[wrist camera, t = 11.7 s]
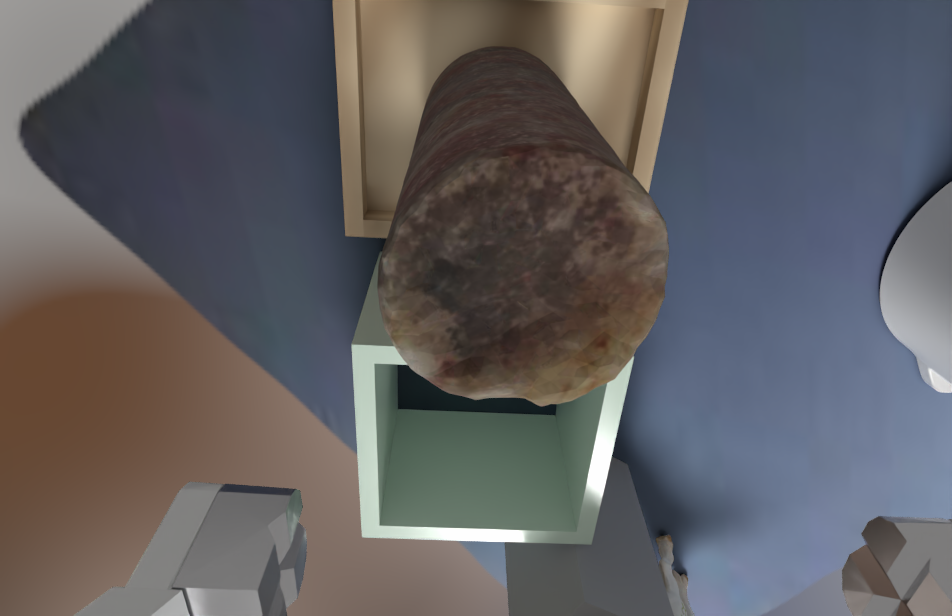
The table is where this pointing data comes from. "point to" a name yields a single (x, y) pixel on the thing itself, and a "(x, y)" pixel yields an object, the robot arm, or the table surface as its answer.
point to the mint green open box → (475, 457)
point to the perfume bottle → (592, 565)
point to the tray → (483, 25)
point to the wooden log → (518, 240)
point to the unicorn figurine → (673, 579)
